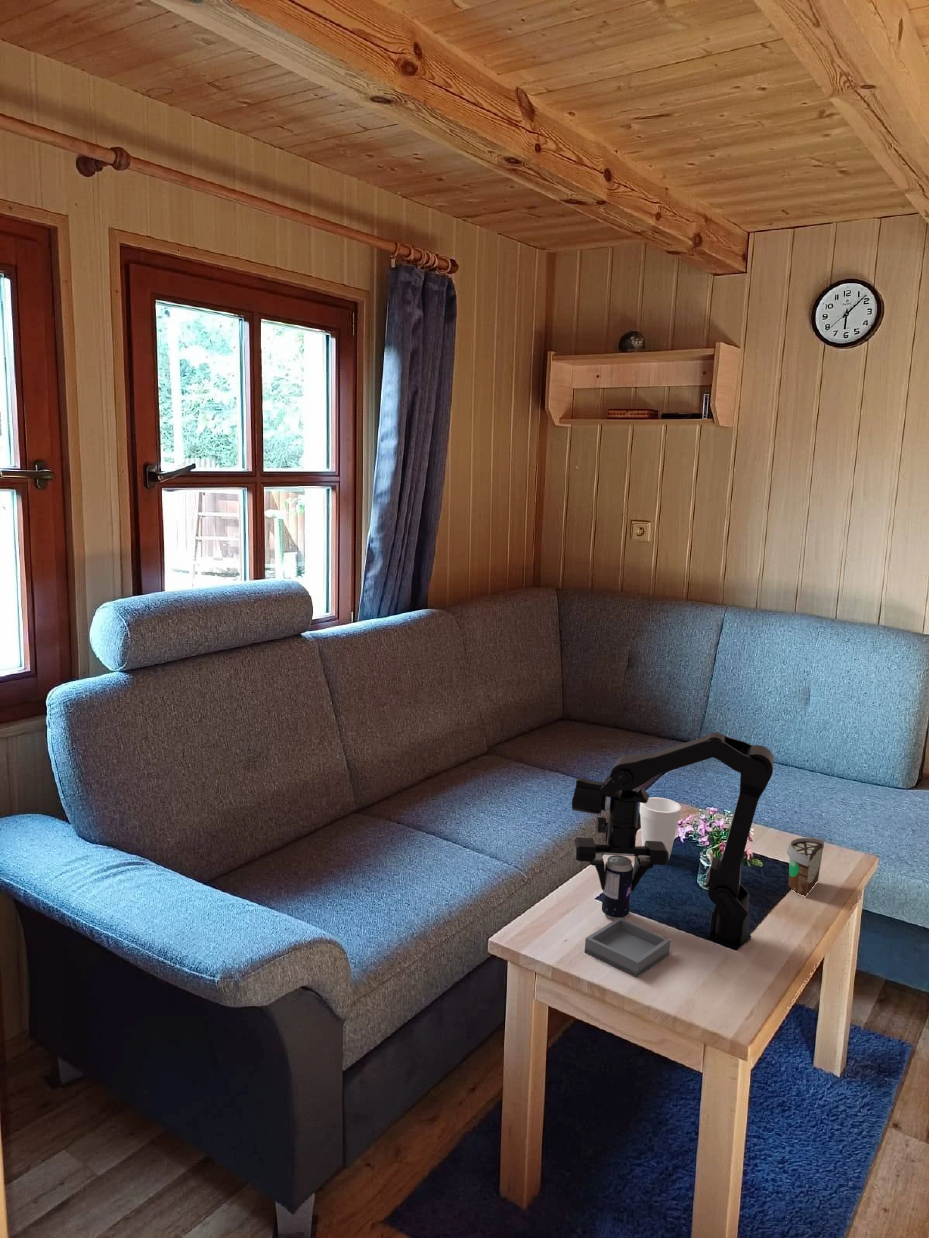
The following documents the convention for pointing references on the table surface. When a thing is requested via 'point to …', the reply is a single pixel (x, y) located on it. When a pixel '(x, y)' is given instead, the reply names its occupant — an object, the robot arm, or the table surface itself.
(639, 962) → the tray
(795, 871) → the food container
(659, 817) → the foam cup
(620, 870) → the beverage can
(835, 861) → the table surface
